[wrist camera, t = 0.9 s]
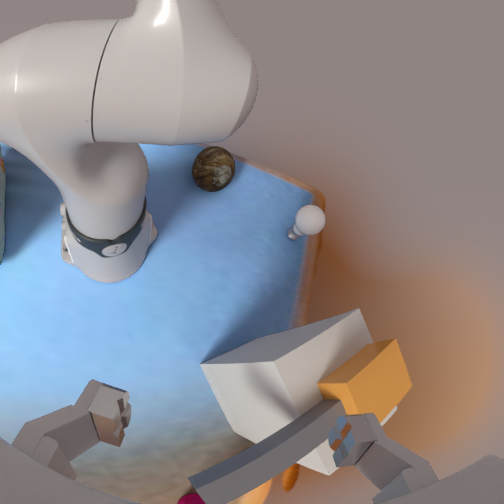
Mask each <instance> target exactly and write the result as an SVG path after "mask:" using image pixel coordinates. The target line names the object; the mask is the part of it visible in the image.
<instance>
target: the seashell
mask: <svg viewBox="0 0 504 504" xmlns="http://www.w3.org/2000/svg"><path fill="white" fill-rule="evenodd" d="M234 173H235V162H234V159H233V157H232V156H231V154H230V153H229V152H228V151H227V150H225V149H223V148H221V147H209V148H206V149H204V150H203V151H202V152H200V153H199V154H198V156H197V157H196V159H195V161H194V163H193V167H192V174H193V177H194V180H195V182H196V183H197V185H198V186H199V187H200V188H202V189H203V190H205V191H209V192H215V191H219V190H221V189H223V188H224V187H226V186H227V185H228V184H229V183H230V181H231V179H232V178H233V176H234Z"/></svg>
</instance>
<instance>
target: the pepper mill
mask: <svg viewBox="0 0 504 504" xmlns="http://www.w3.org/2000/svg"><path fill="white" fill-rule="evenodd" d="M178 504H206V503H205V502H204V501H203V499H202V498H201V497H200V495H199V494H188V495H185V496H183V497H182V498H181V499H180V500H179V501H178Z"/></svg>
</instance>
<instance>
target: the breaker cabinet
mask: <svg viewBox="0 0 504 504" xmlns="http://www.w3.org/2000/svg"><path fill="white" fill-rule="evenodd" d="M371 343H373V341H372V338H371V336H370V333H369V331H368V329H367V326H366V324H365V322H364V319H363V317H362V314H361V312H360V310H359V309H356V310H353V311H350V312H347V313H344V314H340V315H337V316H334V317H331V318H328V319H325V320H322V321H318V322H315V323H311V324H308V325H304V326H301V327H297V328H294V329H290V330H286V331H283V332H279V333H275V334H271V335H267V336H264V337H260V338H256V339H254V340H252V341H250V342H248V343H246V344H244V345H242V346H239V347H237V348H235V349H233V350H231V351H229V352H226V353H224V354H222V355H220V356H217V357H215V358H213V359H211V360H208V361H206V362H204V363H201V364H200V365H201V368H202V370H203V372H204V374H205V376H206V378H207V380H208V382H209V384H210V386H211V389H212V391H213V393H214V395H215V397H216V399H217V401H218V403H219V404H220V406H221V408H222V410H223V412H224V414H225V416H226V418H227V420H228V422H229V423H230V425H231V427H232V429H233V431H234V432H236V433H237V434H239V435H241V436H243V437H245V438H246V439H248V440H250V441H252V442H254V443H256V444H257V443H259V442H260V441H262V440H264V439H265V438H267V437H269V436H270V435H272V434H274V433H275V432H277V431H278V430H280V429H281V428H283V427H285V426H286V425H288V424H289V423H291V422H292V421H294V420H295V419H297V418H298V417H300V416H301V415H302V414H304V413H305V412H307V411H308V410H309V409H311V408H312V407H314V406H315V405H316V404H318V403H319V402H320V401H322V400H323V396H322V394H321V392H320V390H319V387H318V385H317V383H318V382H320V381H321V380H322V379H324V378H325V377H327V376H328V375H329V374H331V373H332V372H333V371H335V370H336V369H337V368H338V367H340V366H341V365H342V364H344V363H345V362H346V361H347V360H349V359H350V358H351V357H352V356H354V355H355V354H356V353H357V352H359V351H360V350H361V349H362V348H363V347H365V346H366V345H367V344H371ZM396 410H397V406H395V408H394V409H393V410H392V411H391V412H390V413H389V414H388V415H387V417H386V418H385V419H384V420H383V421H382V422H381V423H380V424H381V426H383V425H384V423H385V422H386V421H387V420H388V419H389V418H390V417H391V416H392V415H393V413H394V412H395V411H396ZM334 452H335V451H333V450H332V449H331V448H330V446H329V442H328V439H327V440H326V441H324V442H323V443H322V444H320V445H319V446H318V447H317V448H315V449H314V450H313V451H311V452H310V453H309V454H307V455H306V456H304V457H303V458H302V459H300V460H299V461H297V462H296V463H298V464H301V465H303V466H306V467H308V468H311V469H313V470H316V471H318V472H321V473H324V474H326V475H331V473H333V472H334V471H335V470H336V469H338V468H339V467H336V465H335V462H334V459H333V454H334Z"/></svg>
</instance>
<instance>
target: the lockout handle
mask: <svg viewBox="0 0 504 504" xmlns="http://www.w3.org/2000/svg"><path fill="white" fill-rule="evenodd" d="M317 385H318V387H319V390H320V392H321V394H322V396H323V400H322V401H320V402H319V403H318V404H316V405H315V406H314V407H312V408H311V409H309V410H308V411H307V412H305V413H304V414H302V415H301V416H300V417H298V418H297V419H295V420H294V421H292V422H291V423H289V424H288V425H286V426H285V427H283V428H281V429H280V430H278V431H277V432H275V433H274V434H272V435H270V436H269V437H267V438H265V439H264V440H262V441H260V442H259V443H257V444H255V445H253V446H252V447H250V448H248V449H246V450H244V451H243V452H241V453H239V454H237V455H235V456H233V457H231V458H229V459H227V460H225V461H223V462H221V463H219V464H217V465H215V466H213V467H211V468H209V469H207V470H204V471H202V472H200V473H198V474H195V475H193V476H191V477H188V479H189V480H190V482H191V484H192V485H193V487H194V489H195V490H196V491H197V493H198V494H199V495H200V497H201V498H202V499H203V501H204V502H205V503H206V504H226V503H228V502H230V501H232V500H234V499H236V498H238V497H240V496H242V495H244V494H245V493H247V492H249V491H251V490H253V489H255V488H256V487H258V486H260V485H261V484H263V483H265V482H267V481H268V480H270V479H271V478H273V477H275V476H276V475H278V474H279V473H281V472H283V471H284V470H286V469H287V468H289V467H290V466H292V465H293V464H294V463H296V462H297V461H299V460H300V459H302V458H303V457H304V456H306V455H307V454H309V453H310V452H311V451H313V450H314V449H315V448H317V447H318V446H319V445H320V444H322V443H323V442H324V441H326V440H327V439H328V437H329V432H330V431H331V429H332V428H333V427H334V426H336V425H337V422H336V420H337V419H338V417H340V416H341V415H352V414H365V413H374V414H375V415H376V417H377V419H378V421H379V423H381V422H382V421H383V420H384V419H385V418H386V417H387V415H388V414H389V413H390V412H391V411H392V410H393V409H394V408H395V406H396V405H397V404H398V403H399V402H400V400H401V399H402V398H403V397H404V396H405V394H406V393H407V392H408V391H409V389H410V388H411V387H412V384H411V380H410V378H409V374H408V371H407V368H406V365H405V362H404V360H403V357H402V354H401V351H400V348H399V346H398V343H397V340H396V338H394V339H390V340H385V341H380V342H376V343H371V344H367V345H366V346H365V347H363V348H362V349H361V350H360V351H359V352H357V353H356V354H355V355H354V356H352V357H351V358H350V359H349V360H347V361H346V362H345V363H344V364H342V365H341V366H340V367H338V368H337V369H336V370H335V371H333V372H332V373H331V374H329V375H328V376H327V377H325V378H324V379H322V380H321V381H320V382H318V383H317Z"/></svg>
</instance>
